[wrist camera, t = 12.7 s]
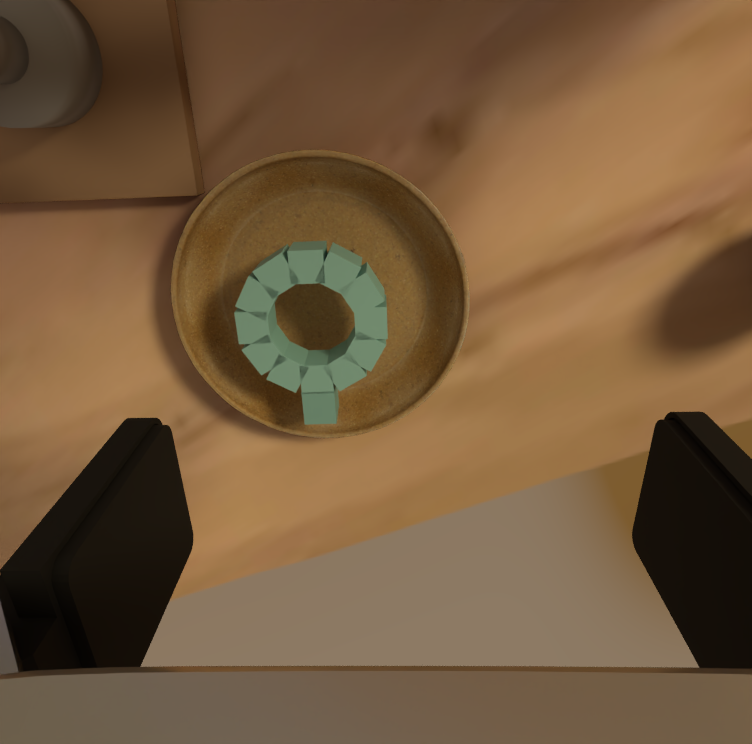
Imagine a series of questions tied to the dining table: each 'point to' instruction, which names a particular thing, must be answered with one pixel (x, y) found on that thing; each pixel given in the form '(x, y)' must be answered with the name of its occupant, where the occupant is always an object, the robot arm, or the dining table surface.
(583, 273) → the dining table surface
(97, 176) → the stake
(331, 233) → the plant saucer
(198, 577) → the dining table surface
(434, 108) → the dining table surface
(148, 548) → the robot arm
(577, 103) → the dining table surface
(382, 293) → the ring
